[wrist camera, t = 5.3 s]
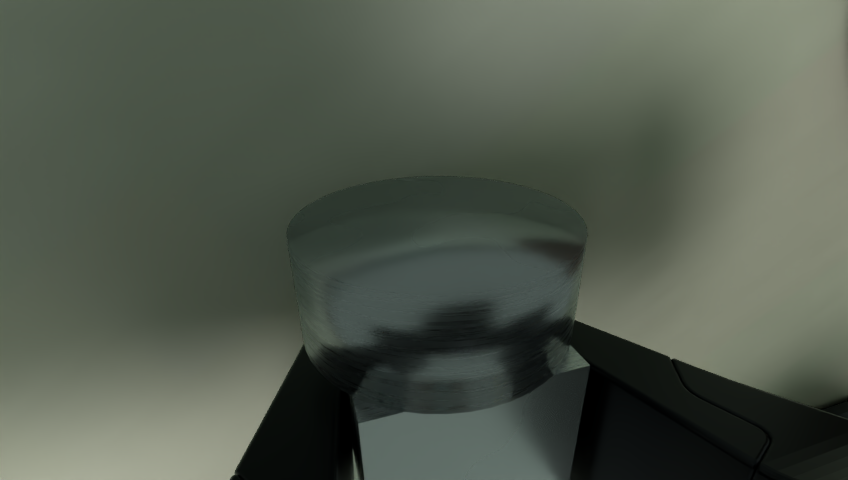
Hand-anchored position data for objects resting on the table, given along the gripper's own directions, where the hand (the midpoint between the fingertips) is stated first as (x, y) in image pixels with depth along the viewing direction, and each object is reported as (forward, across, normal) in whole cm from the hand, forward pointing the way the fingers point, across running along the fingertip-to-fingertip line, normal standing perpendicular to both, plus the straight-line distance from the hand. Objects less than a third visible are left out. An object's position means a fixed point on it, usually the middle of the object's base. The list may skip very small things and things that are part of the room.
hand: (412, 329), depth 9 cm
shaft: (+1, 0, +14) cm, 14 cm away
